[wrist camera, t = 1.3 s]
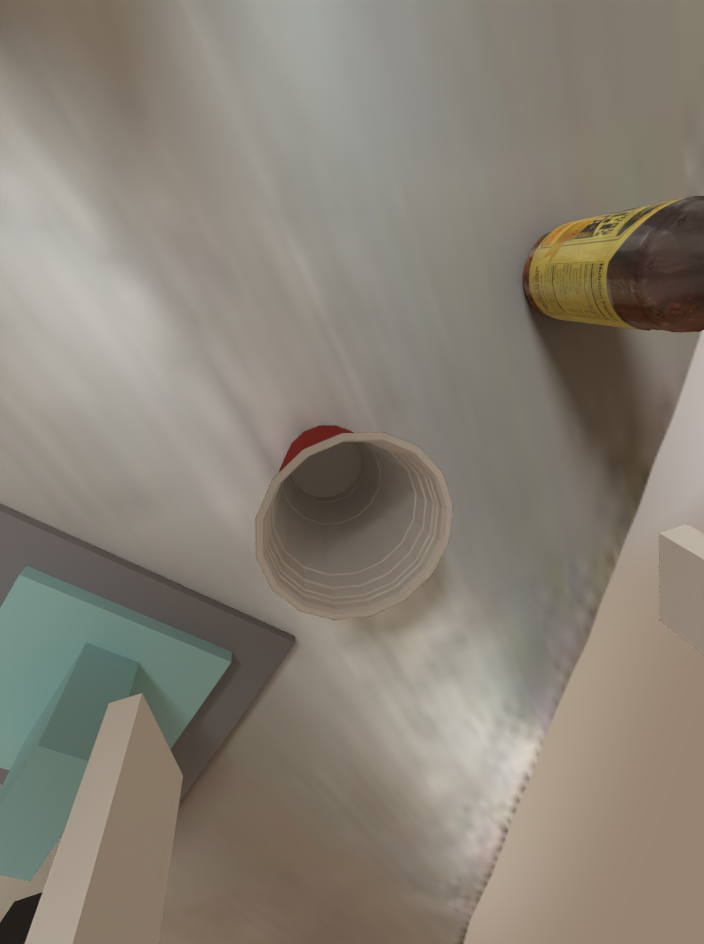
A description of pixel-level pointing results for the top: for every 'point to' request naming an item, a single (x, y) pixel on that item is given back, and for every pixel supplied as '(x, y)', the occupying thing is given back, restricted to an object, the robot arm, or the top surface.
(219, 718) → the mat
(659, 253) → the sauce bottle
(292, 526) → the plastic cup
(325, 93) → the top surface
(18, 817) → the lid
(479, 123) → the top surface
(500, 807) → the top surface
